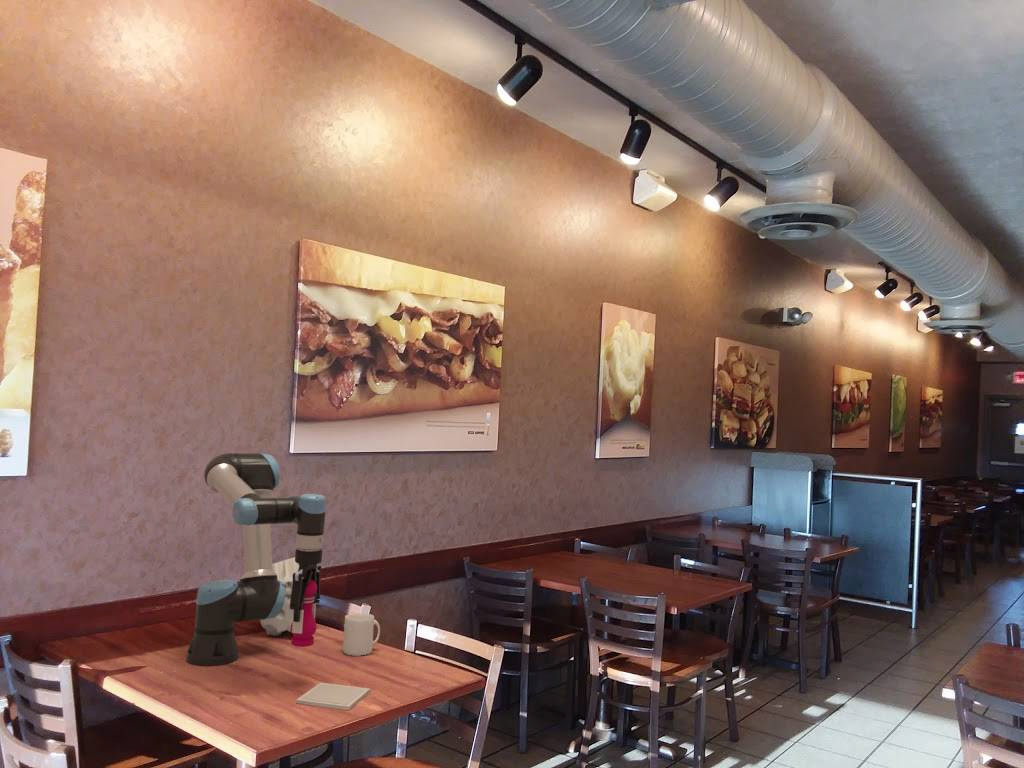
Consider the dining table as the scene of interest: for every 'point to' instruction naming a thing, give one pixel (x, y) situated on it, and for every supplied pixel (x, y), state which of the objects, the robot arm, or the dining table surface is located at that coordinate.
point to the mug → (359, 634)
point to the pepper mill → (306, 619)
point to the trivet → (333, 696)
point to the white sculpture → (286, 614)
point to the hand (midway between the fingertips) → (303, 629)
